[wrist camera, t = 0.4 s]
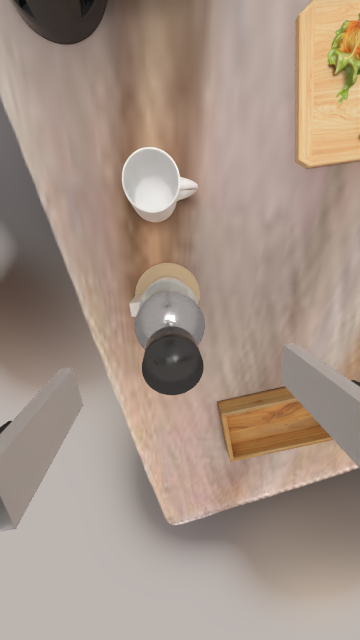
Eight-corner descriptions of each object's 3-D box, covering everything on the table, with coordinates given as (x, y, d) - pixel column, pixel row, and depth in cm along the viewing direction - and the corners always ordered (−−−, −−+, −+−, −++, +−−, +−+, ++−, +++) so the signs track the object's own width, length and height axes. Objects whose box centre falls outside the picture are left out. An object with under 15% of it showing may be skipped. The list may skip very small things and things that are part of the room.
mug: (194, 220, 44) (203, 209, 34) (135, 224, 43) (125, 214, 33) (192, 172, 42) (201, 143, 31) (129, 175, 41) (117, 147, 31)
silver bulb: (130, 294, 26) (106, 320, 15) (201, 287, 26) (226, 308, 15) (140, 359, 28) (125, 421, 17) (205, 352, 28) (229, 409, 18)
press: (131, 265, 45) (117, 268, 33) (197, 259, 46) (210, 260, 33) (140, 329, 49) (131, 354, 37) (201, 323, 50) (213, 345, 37)
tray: (225, 445, 61) (231, 463, 55) (216, 400, 56) (221, 415, 51) (332, 421, 61) (348, 437, 55) (331, 374, 57) (349, 386, 51)
